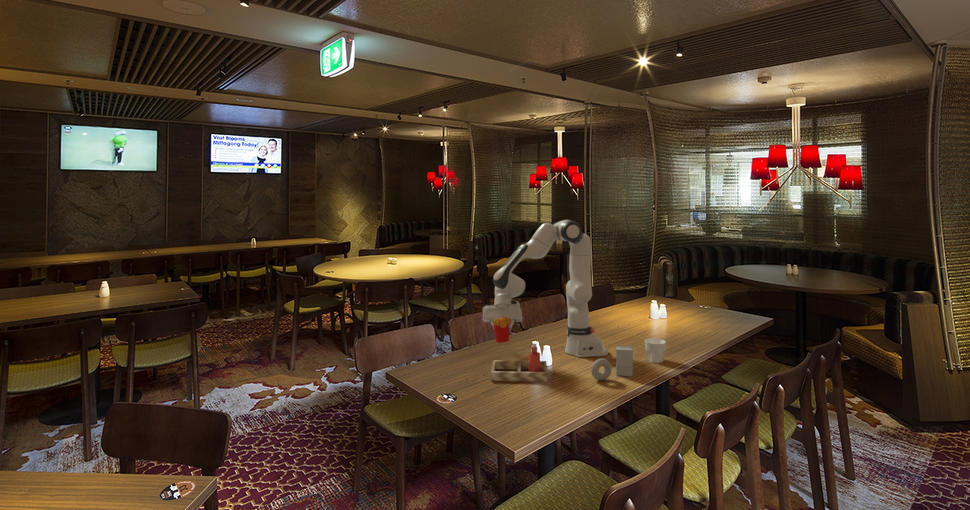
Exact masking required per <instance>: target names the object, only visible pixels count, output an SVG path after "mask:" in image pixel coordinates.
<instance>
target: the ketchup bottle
mask: <svg viewBox="0 0 970 510" xmlns="http://www.w3.org/2000/svg"><path fill="white" fill-rule="evenodd" d="M528 361H529V370H528V372H541V370H540V361H541V353H540V352H539V351H538V346H537V343H532V346H531V352H529V353H528Z"/></svg>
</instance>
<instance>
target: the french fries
mask: <svg viewBox="0 0 970 510" xmlns="http://www.w3.org/2000/svg"><path fill="white" fill-rule="evenodd" d="M509 324H511V322H510V318H509V319H508V318H507V317H504V318H503V317H500V318H497V319H496V320H494V329H493V330H494V336H495V337H494V338H495V341H496V343H498V344H500V343H501V344H502V343H506V342H507V343H508V342H509V341H510V330H511V329H509Z"/></svg>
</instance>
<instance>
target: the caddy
mask: <svg viewBox="0 0 970 510" xmlns="http://www.w3.org/2000/svg"><path fill="white" fill-rule="evenodd" d="M491 364H492V365H491V370H490V381H493V382H494V381H497V382H502V381H503V382H540V383H541V382H543V383H546V382H548V381H549V380H548V374H549V373H548V365H547V361H546V360H540V372H529V360H510V359H509V360H508V359H507V360H505V359H504V360H500V359H499V360H498V359H497V360H495V359H494V360H492V363H491ZM496 370H497V371H496ZM498 370H500V371H498ZM501 370H503V371H501ZM504 370H510V371H504ZM511 370H517V371H511ZM523 370H525V371H523ZM526 370H528V371H526Z"/></svg>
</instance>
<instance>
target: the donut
mask: <svg viewBox="0 0 970 510" xmlns="http://www.w3.org/2000/svg"><path fill="white" fill-rule="evenodd" d="M601 367H603V370H602V372H600V368H601ZM590 369H591V372H590V373H591V375H592V376H593V378H594V379H595V380H597V381H605V380H607V379H608V378H609V377H610V376H611V373H612V364H611V362H610V361H609V360H608V359H606V358H598V359H596V360H595V361H594V362H593V363H592V366H591V368H590Z"/></svg>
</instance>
